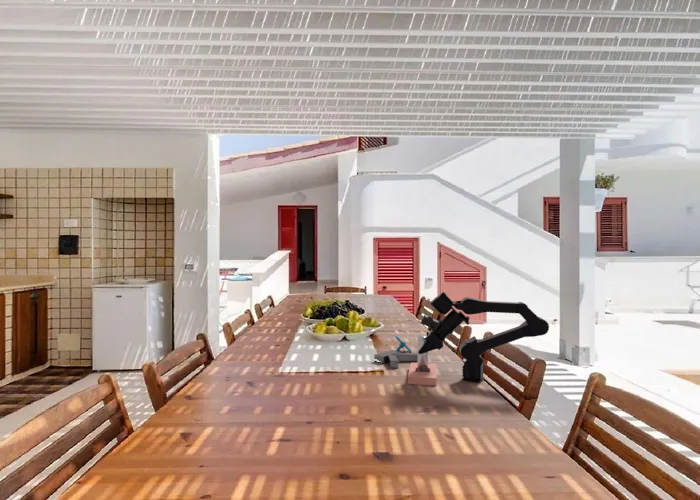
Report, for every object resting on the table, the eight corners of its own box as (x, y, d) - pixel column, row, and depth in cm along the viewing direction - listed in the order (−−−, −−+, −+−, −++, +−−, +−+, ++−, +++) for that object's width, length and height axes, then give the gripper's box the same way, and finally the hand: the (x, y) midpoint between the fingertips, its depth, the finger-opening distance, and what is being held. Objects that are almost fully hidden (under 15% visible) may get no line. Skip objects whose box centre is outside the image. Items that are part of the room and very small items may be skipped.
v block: (421, 360, 191) (421, 353, 191) (394, 369, 177) (394, 361, 177) (396, 355, 200) (396, 348, 200) (369, 363, 187) (369, 356, 187)
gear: (413, 351, 201) (398, 335, 202) (404, 361, 200) (388, 344, 202) (411, 349, 212) (396, 334, 213) (402, 358, 211) (387, 342, 213)
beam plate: (410, 368, 178) (410, 362, 178) (436, 370, 176) (436, 363, 176) (407, 383, 158) (407, 376, 158) (436, 385, 157) (436, 378, 157)
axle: (429, 370, 168) (430, 336, 168) (425, 373, 165) (425, 338, 164) (419, 369, 170) (420, 335, 170) (415, 371, 167) (415, 336, 167)
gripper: (433, 304, 176) (405, 331, 178) (433, 311, 157) (402, 341, 159) (454, 325, 174) (425, 352, 176) (456, 334, 156) (424, 364, 158)
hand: (419, 352), depth 168 cm, fingers closed on axle, 4 cm apart
